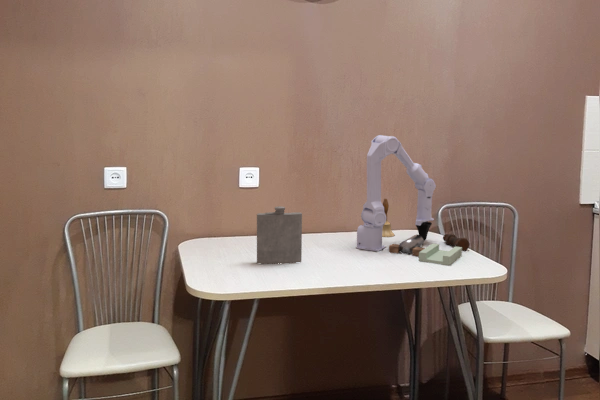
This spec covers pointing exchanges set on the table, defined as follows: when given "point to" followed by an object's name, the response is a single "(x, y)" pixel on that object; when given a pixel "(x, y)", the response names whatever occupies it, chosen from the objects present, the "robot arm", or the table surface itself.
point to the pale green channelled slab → (439, 255)
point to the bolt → (456, 241)
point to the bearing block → (395, 249)
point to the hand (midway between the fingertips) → (422, 240)
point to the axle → (411, 244)
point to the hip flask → (279, 237)
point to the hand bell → (386, 227)
